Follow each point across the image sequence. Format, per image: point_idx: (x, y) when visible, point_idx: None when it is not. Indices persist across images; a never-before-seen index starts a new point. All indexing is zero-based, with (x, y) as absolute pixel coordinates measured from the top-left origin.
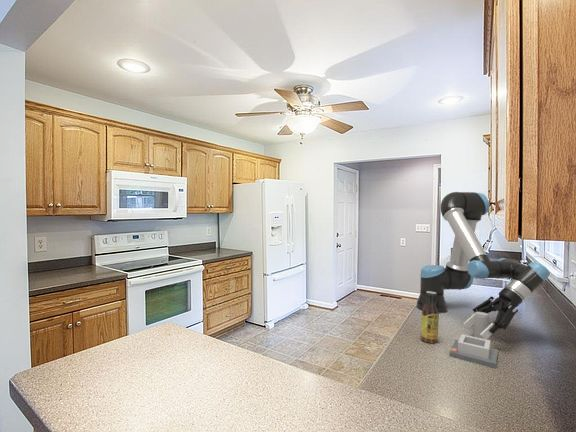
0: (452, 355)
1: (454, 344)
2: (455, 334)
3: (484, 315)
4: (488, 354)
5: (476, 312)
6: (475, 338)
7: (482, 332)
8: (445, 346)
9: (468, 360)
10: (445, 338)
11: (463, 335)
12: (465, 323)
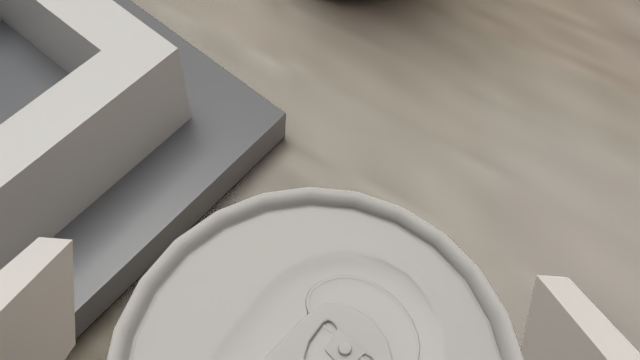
0: None
1: (166, 36)
2: None
3: (112, 339)
4: None
5: (480, 306)
6: (6, 125)
7: (36, 259)
8: (222, 16)
9: None
10: (415, 111)
11: (133, 44)
12: (544, 289)
